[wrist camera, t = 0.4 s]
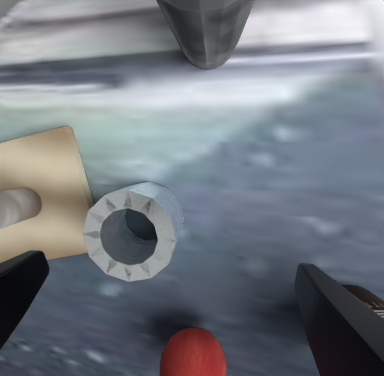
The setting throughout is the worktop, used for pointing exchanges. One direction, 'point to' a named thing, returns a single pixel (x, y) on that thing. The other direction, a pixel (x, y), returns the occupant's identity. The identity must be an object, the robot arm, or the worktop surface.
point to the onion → (193, 355)
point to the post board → (43, 195)
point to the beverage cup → (207, 28)
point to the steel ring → (125, 239)
